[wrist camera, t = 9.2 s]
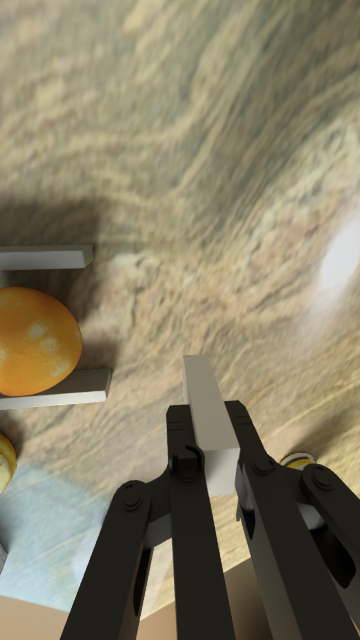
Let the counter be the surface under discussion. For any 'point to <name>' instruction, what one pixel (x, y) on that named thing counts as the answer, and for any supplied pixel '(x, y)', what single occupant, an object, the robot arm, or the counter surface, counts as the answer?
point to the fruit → (35, 341)
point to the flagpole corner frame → (79, 382)
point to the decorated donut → (6, 462)
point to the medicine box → (2, 558)
